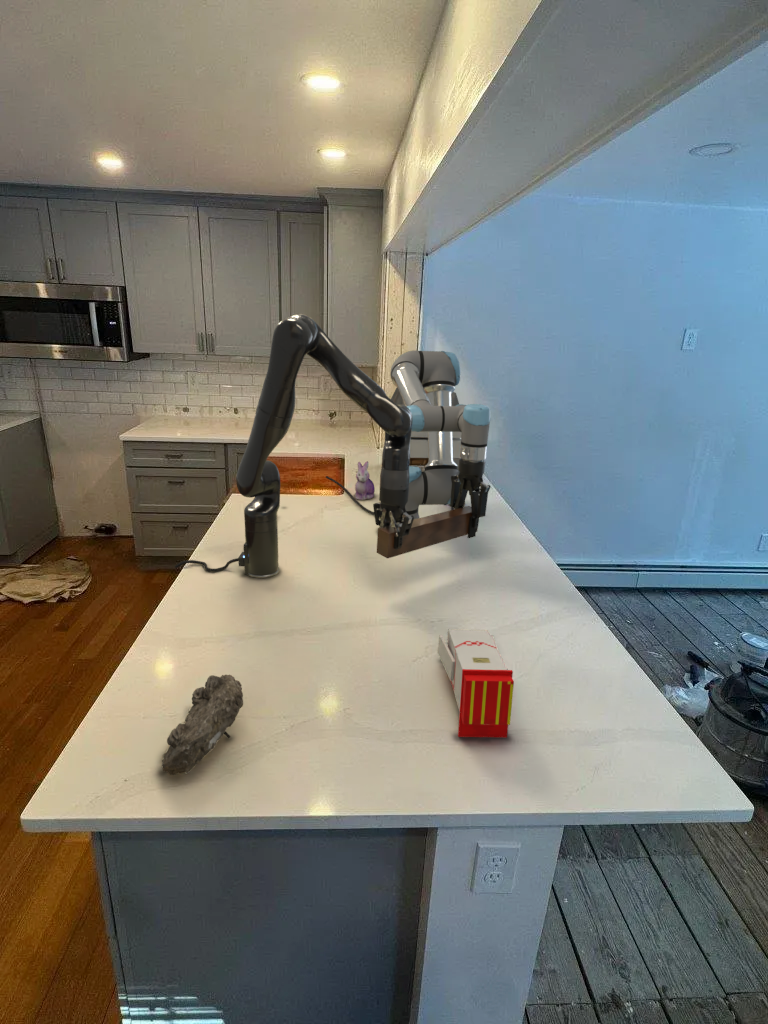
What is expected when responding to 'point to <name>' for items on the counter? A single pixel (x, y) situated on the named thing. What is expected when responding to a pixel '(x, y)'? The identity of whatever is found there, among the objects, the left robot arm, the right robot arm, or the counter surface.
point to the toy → (478, 682)
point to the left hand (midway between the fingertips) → (391, 545)
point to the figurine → (363, 483)
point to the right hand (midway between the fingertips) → (465, 534)
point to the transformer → (421, 438)
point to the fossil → (203, 723)
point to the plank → (426, 532)
